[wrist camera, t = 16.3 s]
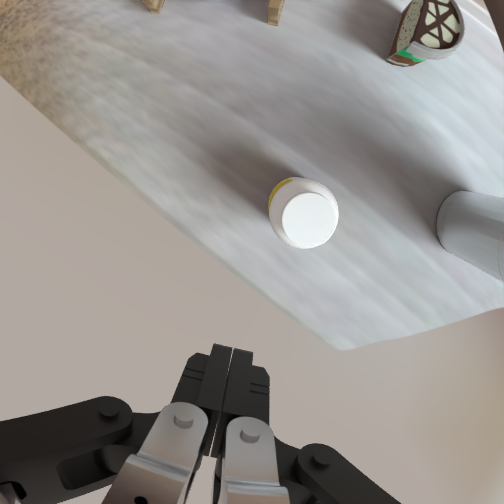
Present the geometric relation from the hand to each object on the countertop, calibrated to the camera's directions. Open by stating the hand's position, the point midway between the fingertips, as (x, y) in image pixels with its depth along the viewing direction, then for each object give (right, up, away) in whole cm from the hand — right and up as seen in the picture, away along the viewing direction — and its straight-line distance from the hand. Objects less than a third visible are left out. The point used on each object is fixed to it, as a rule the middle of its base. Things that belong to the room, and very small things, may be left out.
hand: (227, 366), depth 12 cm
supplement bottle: (+6, +10, +27) cm, 30 cm away
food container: (+23, +32, +21) cm, 44 cm away
